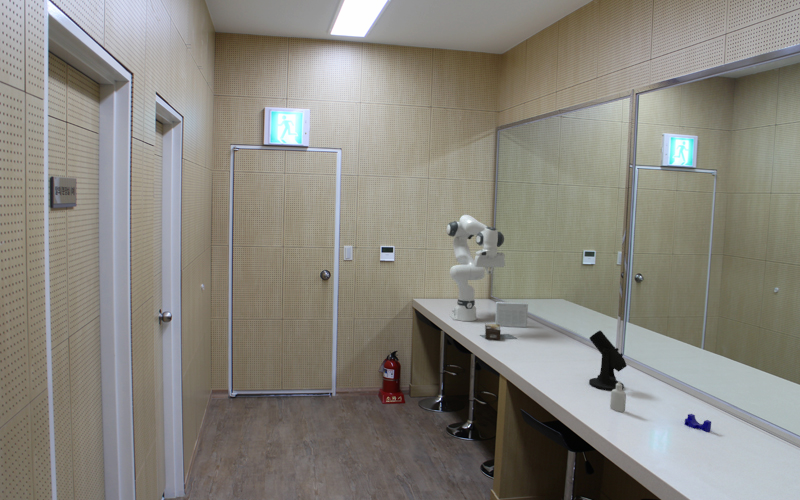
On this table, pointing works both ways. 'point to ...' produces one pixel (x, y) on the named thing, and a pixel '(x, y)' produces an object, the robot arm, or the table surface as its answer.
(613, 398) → the eye dropper bottle
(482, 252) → the robot arm
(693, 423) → the cable holder
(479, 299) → the table surface
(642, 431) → the table surface
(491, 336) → the coffee box
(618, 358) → the microphone
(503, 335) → the mat
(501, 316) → the skincare box
